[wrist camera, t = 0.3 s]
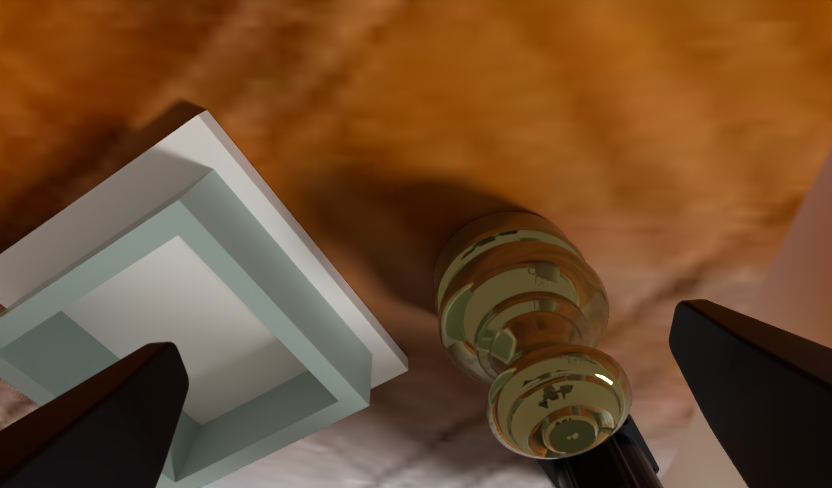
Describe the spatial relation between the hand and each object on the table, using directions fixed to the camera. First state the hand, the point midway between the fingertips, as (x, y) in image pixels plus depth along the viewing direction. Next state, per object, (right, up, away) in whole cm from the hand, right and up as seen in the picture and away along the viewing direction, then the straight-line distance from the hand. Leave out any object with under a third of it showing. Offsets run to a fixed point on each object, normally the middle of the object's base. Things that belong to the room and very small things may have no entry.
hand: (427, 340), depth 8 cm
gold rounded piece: (+4, 0, +15) cm, 16 cm away
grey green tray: (-11, -2, +15) cm, 19 cm away
